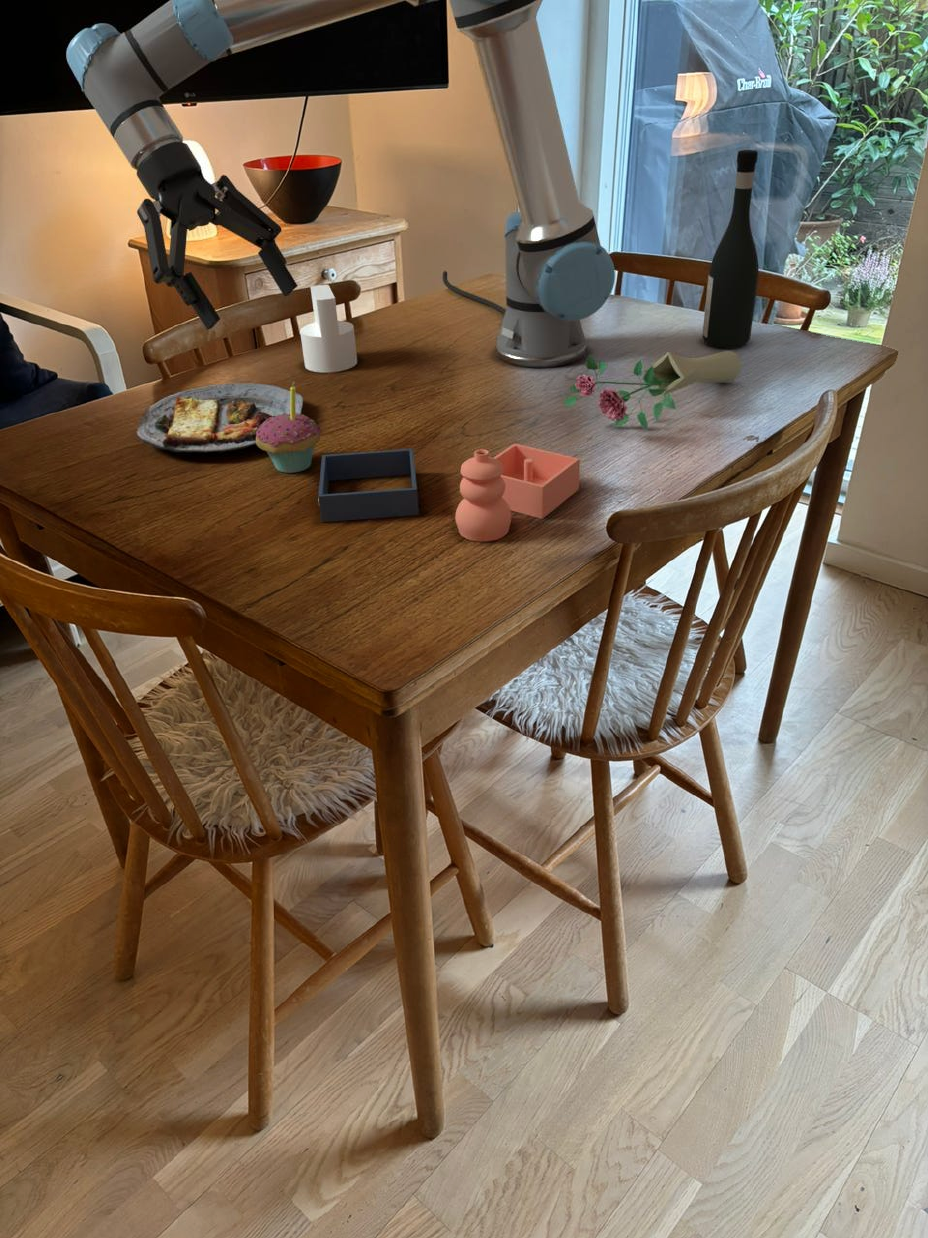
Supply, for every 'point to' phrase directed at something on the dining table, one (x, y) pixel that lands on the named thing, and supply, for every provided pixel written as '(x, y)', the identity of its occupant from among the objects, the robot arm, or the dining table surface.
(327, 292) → the cylinder with rectangular tab
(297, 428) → the cupcake
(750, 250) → the wine bottle
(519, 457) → the pottery
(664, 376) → the flower vase
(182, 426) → the food plate
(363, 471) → the rectangular frame
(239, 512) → the dining table surface
